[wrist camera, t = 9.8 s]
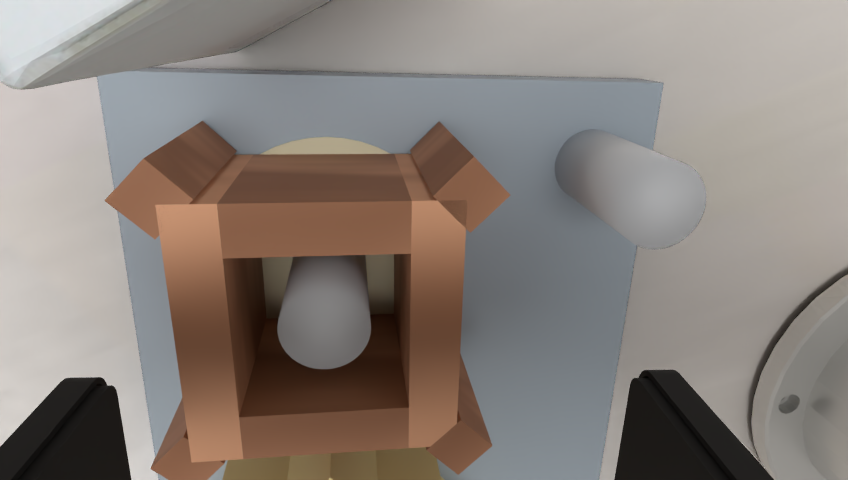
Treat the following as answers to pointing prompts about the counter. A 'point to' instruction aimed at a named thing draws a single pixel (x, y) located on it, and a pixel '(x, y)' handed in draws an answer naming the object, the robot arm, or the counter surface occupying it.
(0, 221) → the counter surface
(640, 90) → the gear board
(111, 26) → the supplement box
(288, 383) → the brown open boxy piece
